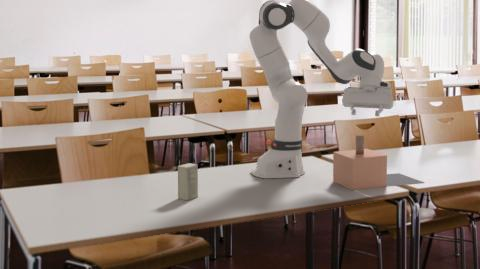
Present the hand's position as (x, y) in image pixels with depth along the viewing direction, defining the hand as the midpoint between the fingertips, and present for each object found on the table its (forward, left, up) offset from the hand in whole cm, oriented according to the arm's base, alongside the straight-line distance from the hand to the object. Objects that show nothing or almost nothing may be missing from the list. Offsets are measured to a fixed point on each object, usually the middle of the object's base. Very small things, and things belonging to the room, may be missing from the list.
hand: (365, 114), depth 270 cm
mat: (+11, -6, -26) cm, 29 cm away
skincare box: (-74, -4, -27) cm, 79 cm away
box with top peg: (-5, -7, -26) cm, 28 cm away
